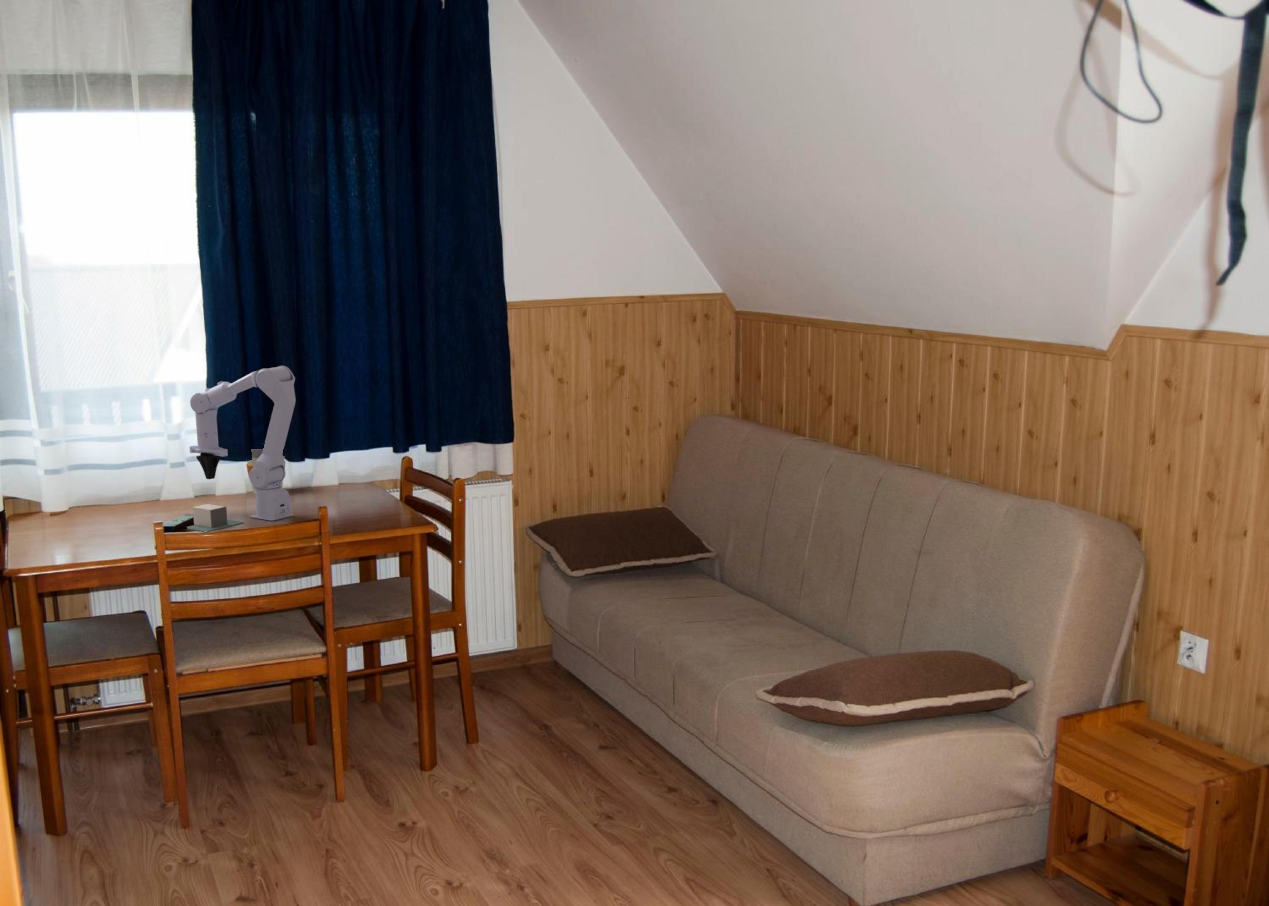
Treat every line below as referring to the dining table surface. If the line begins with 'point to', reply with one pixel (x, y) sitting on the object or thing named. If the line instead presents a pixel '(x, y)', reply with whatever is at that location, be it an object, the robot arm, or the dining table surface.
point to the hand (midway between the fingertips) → (210, 478)
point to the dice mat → (204, 528)
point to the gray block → (210, 515)
